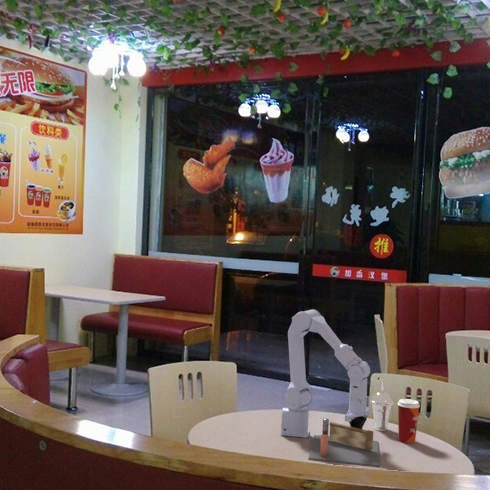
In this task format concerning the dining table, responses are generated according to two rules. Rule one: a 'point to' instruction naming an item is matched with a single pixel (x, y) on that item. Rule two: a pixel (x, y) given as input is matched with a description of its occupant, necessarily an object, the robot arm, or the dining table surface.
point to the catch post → (324, 445)
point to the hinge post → (325, 426)
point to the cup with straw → (381, 409)
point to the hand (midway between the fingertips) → (356, 438)
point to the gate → (351, 436)
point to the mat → (345, 453)
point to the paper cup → (407, 420)
